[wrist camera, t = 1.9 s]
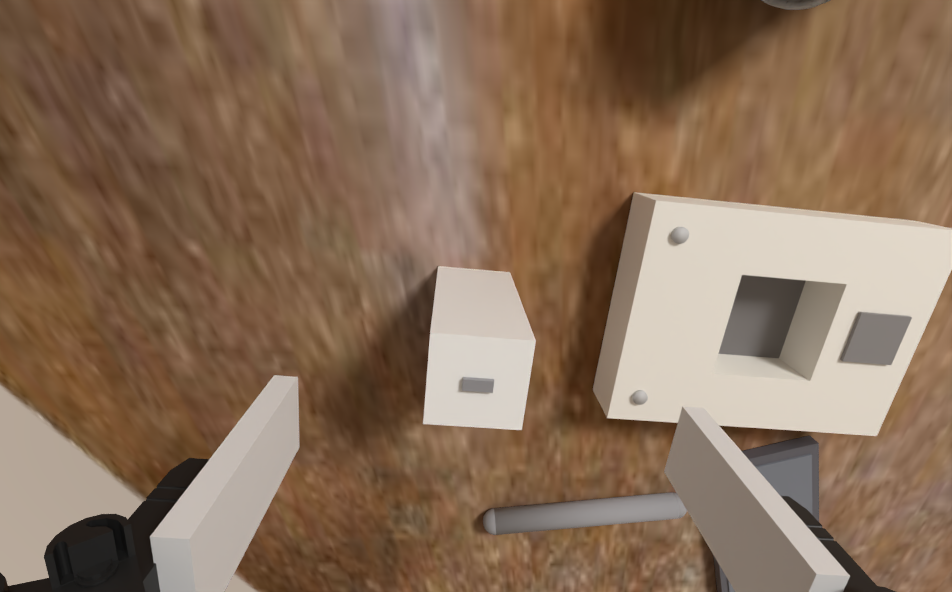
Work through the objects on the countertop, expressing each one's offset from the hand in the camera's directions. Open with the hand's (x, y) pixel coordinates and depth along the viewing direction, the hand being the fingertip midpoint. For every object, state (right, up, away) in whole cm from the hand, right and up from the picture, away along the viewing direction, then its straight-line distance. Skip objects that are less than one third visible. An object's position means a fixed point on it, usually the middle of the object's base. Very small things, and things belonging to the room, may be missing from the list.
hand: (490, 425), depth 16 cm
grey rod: (+7, -10, +16) cm, 20 cm away
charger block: (-1, +4, +11) cm, 12 cm away
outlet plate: (+15, +4, +12) cm, 19 cm away
